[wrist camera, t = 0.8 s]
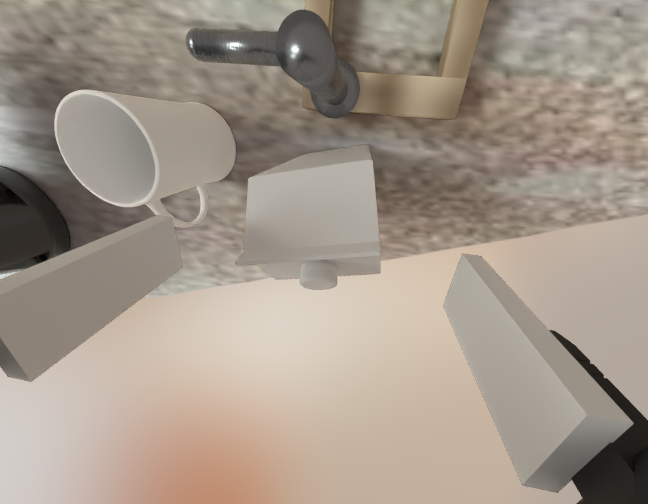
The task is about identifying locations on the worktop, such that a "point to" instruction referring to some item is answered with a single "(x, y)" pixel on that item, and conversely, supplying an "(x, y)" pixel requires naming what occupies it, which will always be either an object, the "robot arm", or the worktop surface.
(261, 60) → the metal door lever handle
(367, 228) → the milk carton
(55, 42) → the worktop surface
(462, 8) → the tan flat frame
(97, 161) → the mug
